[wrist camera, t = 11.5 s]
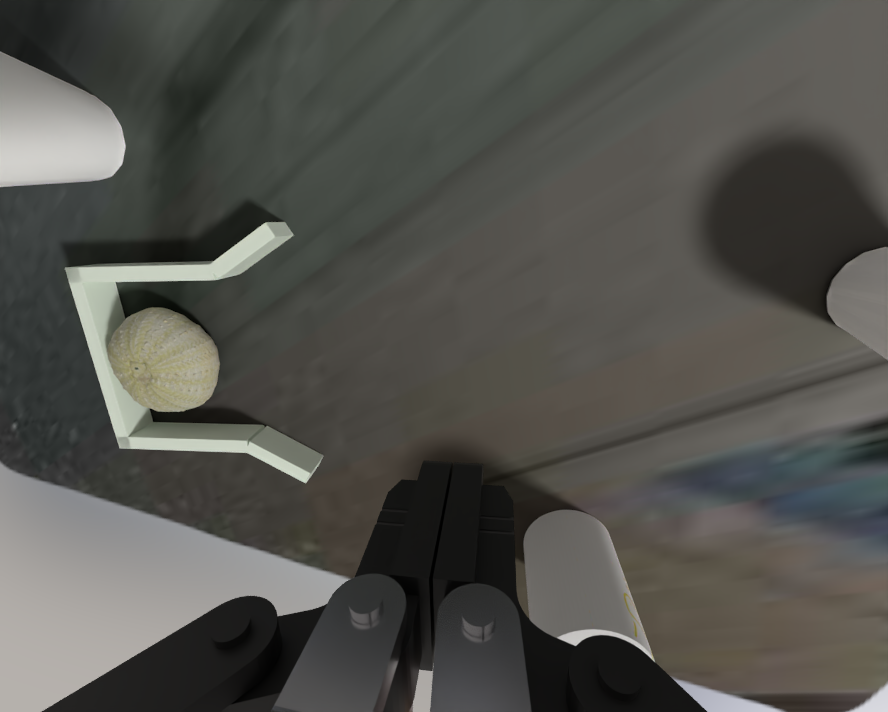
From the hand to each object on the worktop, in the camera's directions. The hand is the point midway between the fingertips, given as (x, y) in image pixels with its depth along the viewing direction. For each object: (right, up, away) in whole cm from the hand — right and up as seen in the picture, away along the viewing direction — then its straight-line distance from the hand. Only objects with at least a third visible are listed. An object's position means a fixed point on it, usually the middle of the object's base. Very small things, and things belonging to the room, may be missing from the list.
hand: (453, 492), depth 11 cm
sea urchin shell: (-24, +4, +28) cm, 37 cm away
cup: (+12, -15, +30) cm, 35 cm away
